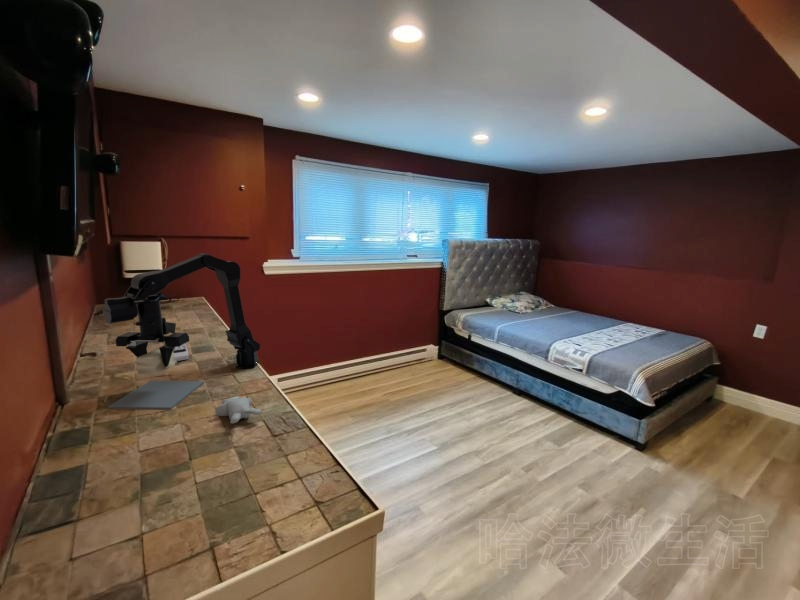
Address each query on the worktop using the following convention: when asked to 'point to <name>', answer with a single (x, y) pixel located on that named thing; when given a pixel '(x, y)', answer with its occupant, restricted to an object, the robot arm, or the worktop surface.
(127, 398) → the rubber mat
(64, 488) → the worktop surface
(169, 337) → the robot arm
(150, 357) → the card box
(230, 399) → the bunny figurine
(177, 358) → the mobile phone
